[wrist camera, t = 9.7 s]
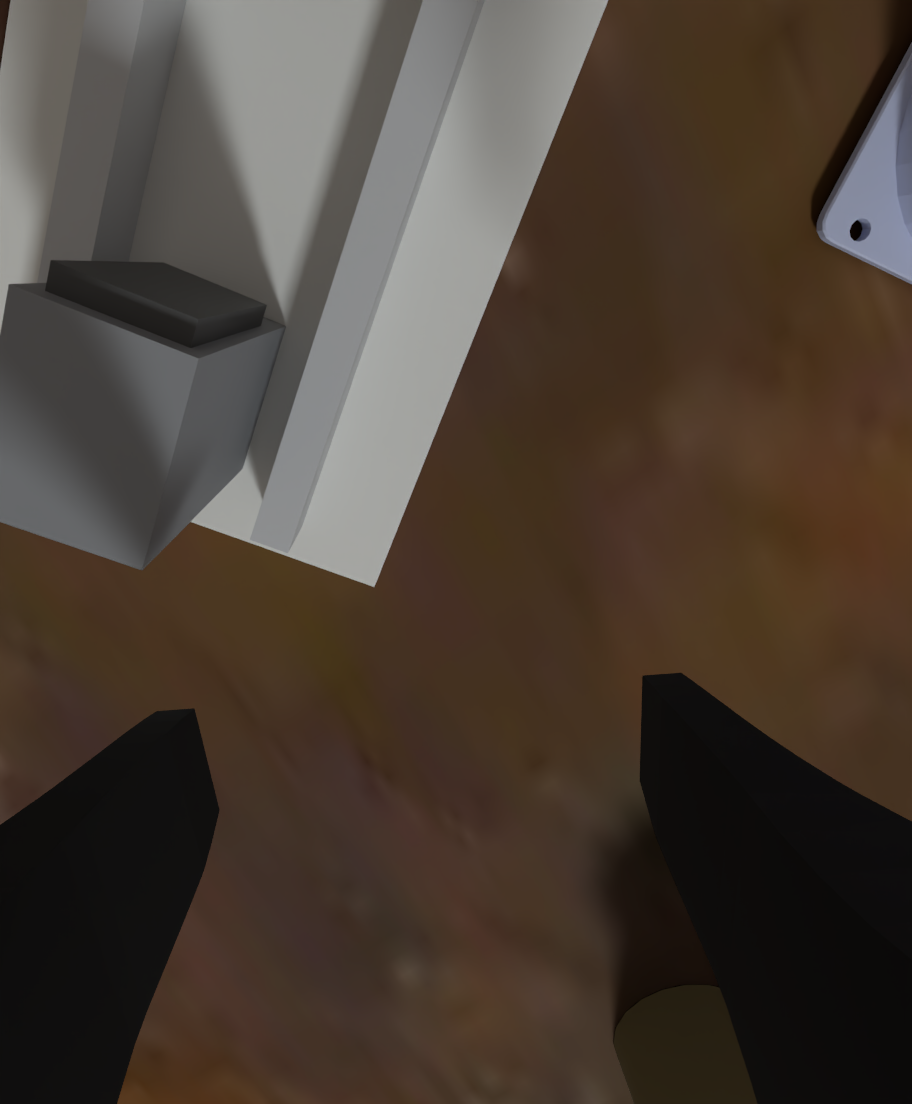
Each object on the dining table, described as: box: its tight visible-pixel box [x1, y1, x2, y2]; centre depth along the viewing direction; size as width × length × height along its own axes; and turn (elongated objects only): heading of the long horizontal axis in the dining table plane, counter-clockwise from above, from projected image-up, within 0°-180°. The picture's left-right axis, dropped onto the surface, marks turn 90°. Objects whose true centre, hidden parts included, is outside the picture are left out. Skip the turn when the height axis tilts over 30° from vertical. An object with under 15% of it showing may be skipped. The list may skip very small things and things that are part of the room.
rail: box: [0, 0, 608, 587], centre depth 13 cm, size 12×22×8 cm, turn 158°
